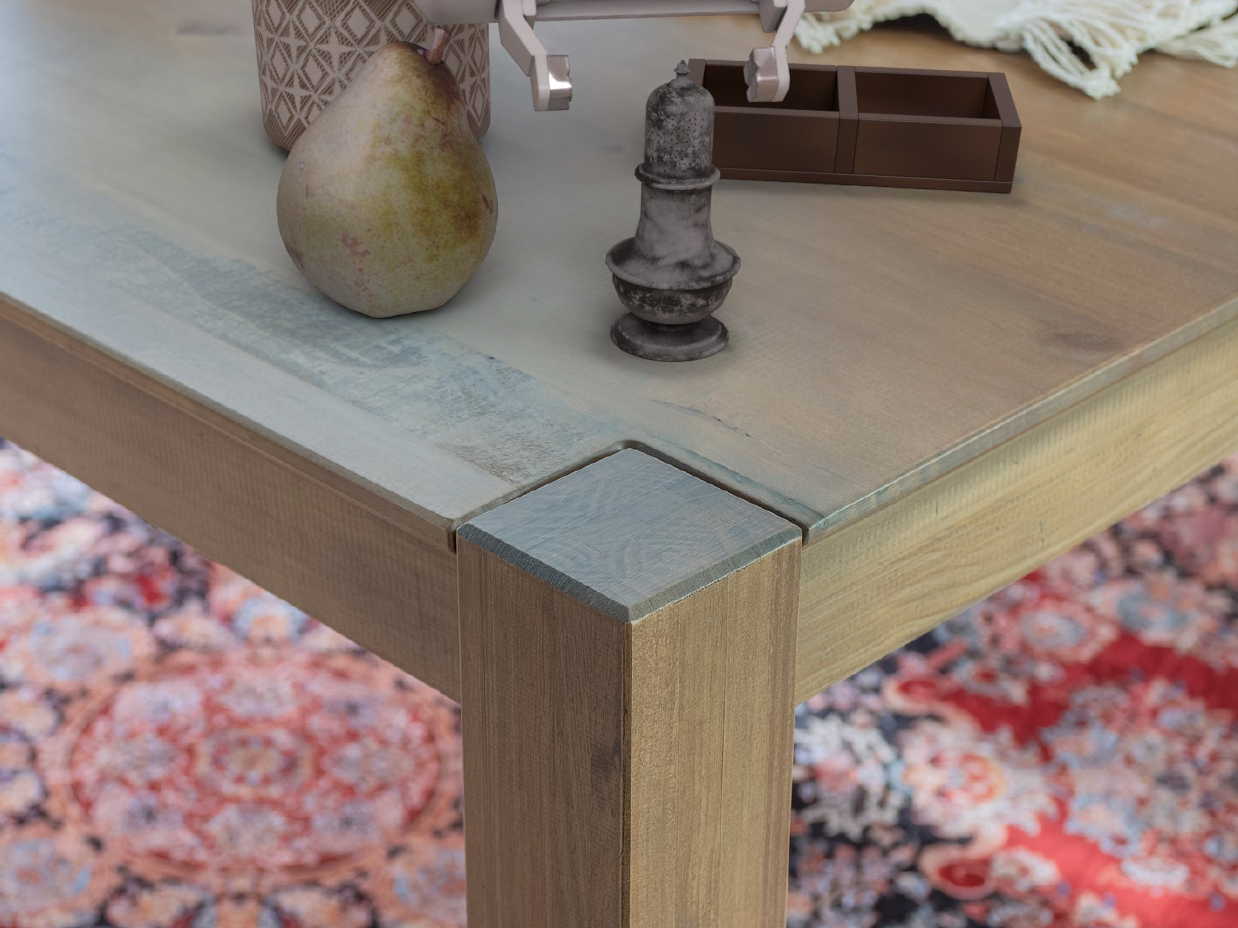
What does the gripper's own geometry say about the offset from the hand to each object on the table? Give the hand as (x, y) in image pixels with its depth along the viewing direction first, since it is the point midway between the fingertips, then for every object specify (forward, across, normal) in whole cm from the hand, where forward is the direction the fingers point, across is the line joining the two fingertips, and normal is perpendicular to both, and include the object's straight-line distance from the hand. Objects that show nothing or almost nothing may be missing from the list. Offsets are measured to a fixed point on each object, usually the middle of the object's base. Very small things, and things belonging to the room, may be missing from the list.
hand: (662, 100), depth 71 cm
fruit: (+5, -12, +9) cm, 16 cm away
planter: (-10, -11, +24) cm, 28 cm away
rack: (-6, +15, +20) cm, 26 cm away
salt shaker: (+9, 0, +5) cm, 10 cm away
